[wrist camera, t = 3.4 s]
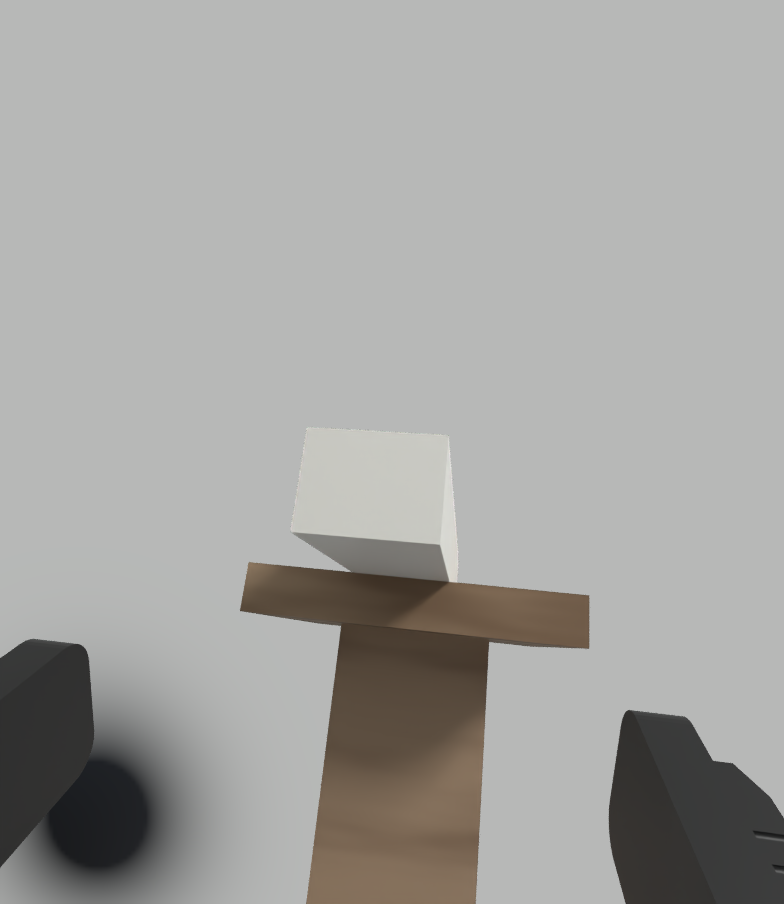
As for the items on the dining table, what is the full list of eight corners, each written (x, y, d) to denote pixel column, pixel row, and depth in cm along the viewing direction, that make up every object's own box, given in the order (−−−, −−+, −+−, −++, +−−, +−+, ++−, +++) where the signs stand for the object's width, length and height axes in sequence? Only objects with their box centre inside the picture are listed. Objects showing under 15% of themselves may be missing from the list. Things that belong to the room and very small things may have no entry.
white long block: (398, 602, 41) (403, 547, 42) (456, 607, 40) (459, 552, 41) (290, 532, 15) (311, 401, 17) (439, 545, 15) (450, 407, 16)
